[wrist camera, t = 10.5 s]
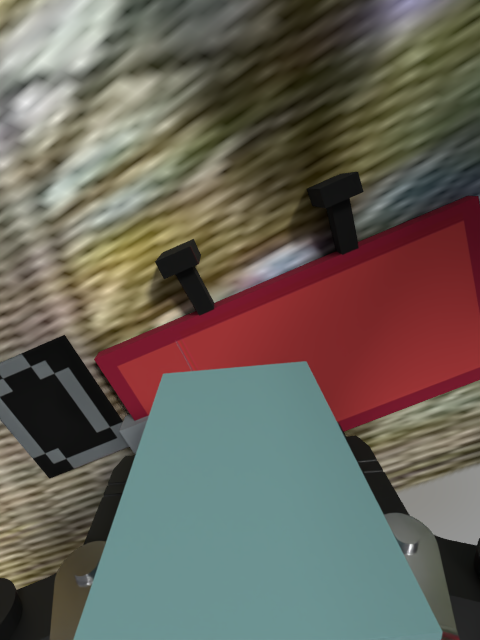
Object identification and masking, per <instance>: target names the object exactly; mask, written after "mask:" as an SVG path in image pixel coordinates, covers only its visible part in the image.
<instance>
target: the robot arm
mask: <svg viewBox="0 0 480 640" xmlns="http://www.w3.org/2000/svg"><path fill="white" fill-rule="evenodd" d="M337 423H338V425H339V427H340V429H341V431H342V433H343V435H344V437H345V439H346V441H347V443H348V445H349V447H350V449H351V451H352V453H353V455H354V457H355V459H356V461H357V463H358V465H359V467H360V469H361V471H362V473H363V475H364V477H365V479H366V481H367V483H368V485H369V487H370V489H371V491H372V493H373V495H374V497H375V499H376V501H377V503H378V505H379V507H380V509H381V511H382V512H383V514H384V516H385V518H386V520H387V522H388V524H389V526H390V528H391V530H392V532H393V534H394V536H395V538H396V540H397V542H398V544H399V546H400V548H401V550H402V552H403V554H404V556H405V558H406V560H407V562H408V564H409V566H410V568H411V570H412V572H413V574H414V576H415V578H416V580H417V582H418V584H419V586H420V588H421V590H422V592H423V594H424V596H425V598H426V600H427V602H428V604H429V606H430V608H431V610H432V612H433V614H434V616H435V618H436V620H437V622H438V624H439V626H440V628H441V630H442V632H443V633H442V638H441V640H480V539H479V541H478V544H477V546H476V545H471V544H466V543H461V542H457V541H452V540H447V539H443V538H440V537H438V536H435V535H433V533H432V532H431V531H430V530H429V528H428V527H426V526H425V525H424V524H423V523H422V522H420V521H419V520H417V519H415V518H413V517H411V516H410V515H409V514H408V512H407V510H406V509H405V507H404V505H403V503H402V502H401V500H400V498H399V497H398V495H397V493H396V491H395V490H394V488H393V486H392V485H391V483H390V481H389V479H388V478H387V476H386V474H385V473H384V472H383V469H382V467H381V466H380V464H379V462H378V461H377V459H376V457H375V455H374V454H373V452H372V450H371V449H370V447H369V446H368V445H367V444H366V443H365V442H363V441H362V440H361V439H360V438H358V437H357V436H350V437H346V435H345V434H344V432H343V430H342V428H341V426H340V424H339V422H337ZM139 444H140V443H139ZM138 447H139V446H138ZM137 450H138V449H137ZM134 458H135V456H125V457H124V458H123V459H122V461H121V462H120V463H119V464H118V465H117V466H116V467H115V468H114V470H113V472H112V475H111V477H110V480H109V482H108V486H107V487H106V490H105V492H104V497H103V498H102V500H101V502H100V505H99V507H98V510H97V512H96V515H95V517H94V520H93V522H92V525H91V527H90V530H89V532H88V535H87V537H86V540H85V542H84V545H83V546H81V547H79V548H78V549H76V550H75V551H73V552H72V553H71V554H70V555H69V556H68V557H67V558H66V559H65V560H64V561H63V563H62V564H61V566H60V568H59V569H58V571H57V573H55V574H54V575H52V576H50V577H48V578H45V579H43V580H40V581H38V582H35V583H33V584H30V585H28V586H25V587H23V588H20V589H18V590H16V588H15V586H14V584H13V583H12V582H11V581H10V580H8V579H5V578H0V640H73V639H74V636H75V633H76V630H77V627H78V624H79V621H80V618H81V615H82V612H83V609H84V607H85V604H86V601H87V598H88V595H89V592H90V589H91V586H92V583H93V580H94V577H95V574H96V571H97V568H98V565H99V562H100V559H101V556H102V553H103V550H104V547H105V544H106V541H107V538H108V535H109V532H110V530H111V527H112V524H113V521H114V518H115V515H116V512H117V509H118V506H119V503H120V500H121V497H122V494H123V491H124V488H125V485H126V482H127V479H128V476H129V473H130V470H131V467H132V464H133V461H134Z"/></svg>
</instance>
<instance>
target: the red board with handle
mask: <svg viewBox="0 0 480 640" xmlns="http://www.w3.org/2000/svg"><path fill="white" fill-rule="evenodd" d="M307 191H308V194H309V197H310V200H311V203H312V206H315V207H321V208H326V210H327V214H328V218H329V222H330V227H331V231H332V235H333V240H334V244H335V248H336V252H333V253H331V254H329V255H326V256H324V257H322V258H319V259H317V260H314V261H312V262H310V263H307V264H305V265H303V266H300V267H298V268H296V269H293V270H291V271H289V272H286V273H284V274H281V275H279V276H277V277H274V278H272V279H270V280H267V281H265V282H263V283H260V284H258V285H256V286H253V287H251V288H249V289H246V290H244V291H242V292H239V293H237V294H235V295H232V296H230V297H228V298H225V299H223V300H220V301H218V302H216V303H214V302H213V300H212V298H211V296H210V294H209V292H208V290H207V288H206V287H205V285H204V283H203V281H202V279H201V277H200V275H199V273H198V271H197V269H196V268H195V265H198V264H199V261H200V257H201V254H200V252H199V250H198V248H197V245H196V243H195V241H194V239H192V240H190V241H188V242H186V243H183V244H181V245H179V246H177V247H174V248H172V249H170V250H168V251H165V252H163V253H162V254H161V255H160V256H159V258H158V259H157V260H156V261H155V263H156V265H157V266H158V268H159V270H160V272H161V274H162V276H163V278H164V279H166V278H168V277H170V276H172V275H176V276H177V278H178V280H179V282H180V283H181V285H182V287H183V289H184V290H185V292H186V294H187V296H188V297H189V299H190V301H191V303H192V304H193V306H194V308H195V309H196V311H195V312H192V313H190V314H188V315H185V316H183V317H181V318H178V319H176V320H174V321H171V322H169V323H167V324H164V325H162V326H159V327H157V328H155V329H152V330H150V331H148V332H145V333H143V334H141V335H138V336H136V337H134V338H131V339H129V340H127V341H124V342H122V343H120V344H117V345H115V346H113V347H110V348H108V349H106V350H103V351H101V352H99V353H98V355H97V356H96V357H95V359H94V360H95V361H96V363H97V364H98V366H99V367H100V369H101V371H102V372H103V374H104V375H105V377H106V378H107V380H108V381H109V383H110V384H111V386H112V387H113V389H114V390H115V392H116V393H117V395H118V396H119V398H120V399H121V401H122V402H123V404H124V405H125V407H126V409H127V410H128V412H129V413H130V415H127V416H125V418H124V421H122V419H121V418H120V416H119V415H118V413H117V412H116V411H115V409H114V408H113V406H112V405H111V403H110V402H109V400H108V399H107V397H106V396H105V394H104V393H103V391H102V390H101V388H100V387H99V385H98V384H97V382H96V381H95V379H94V378H93V376H92V375H91V373H90V372H89V370H88V369H87V368H86V366H85V365H84V363H83V362H82V360H81V359H80V357H79V356H78V354H77V353H76V351H75V350H74V348H73V347H72V345H71V344H70V342H69V341H68V339H67V338H66V336H65V335H63V336H61V337H59V338H56V339H54V340H52V341H49V342H47V343H45V344H42V345H40V346H38V347H36V348H33V349H31V350H29V351H26V352H24V353H22V354H19V355H17V356H15V357H13V358H10V359H8V360H6V361H3V362H1V363H0V420H1V421H2V422H3V423H4V425H5V426H6V427H7V428H8V429H9V431H10V432H11V433H12V434H13V435H14V437H15V438H16V439H17V440H18V441H19V443H20V444H21V445H22V446H23V447H24V449H25V450H26V451H27V452H28V453H29V455H30V456H31V457H32V458H33V459H34V460H35V462H36V463H37V464H38V465H39V466H40V468H41V469H42V470H43V471H44V472H45V474H46V475H47V476H48V477H49V478H52V477H54V476H57V475H59V474H62V473H65V472H67V471H70V470H72V469H75V468H77V467H80V466H82V465H85V464H87V463H90V462H92V461H95V460H97V459H100V458H102V457H105V456H107V455H110V454H112V453H115V452H117V451H120V450H122V449H125V448H127V447H130V448H131V449H132V451H133V452H134V454H135V453H136V452H137V449H138V446H139V443H140V441H141V438H142V435H143V432H144V429H145V426H146V423H147V420H148V417H149V414H150V411H151V408H152V405H153V402H154V399H155V396H156V393H157V390H158V387H159V384H160V381H161V378H162V375H163V374H166V373H177V372H188V371H200V370H211V369H223V368H234V367H246V366H257V365H269V364H280V363H291V362H303V361H306V362H307V364H308V366H309V368H310V370H311V372H312V373H313V375H314V377H315V379H316V381H317V383H318V385H319V387H320V389H321V391H322V393H323V395H324V397H325V399H326V401H327V403H328V405H329V407H330V409H331V411H332V413H333V415H334V417H335V419H336V421H337V422H339V424H340V426H341V428H342V430H343V432H344V431H346V430H349V429H352V428H354V427H357V426H360V425H362V424H365V423H367V422H370V421H373V420H375V419H378V418H381V417H383V416H386V415H388V414H391V413H394V412H396V411H399V410H402V409H404V408H407V407H409V406H412V405H415V404H417V403H420V402H423V401H425V400H428V399H430V398H433V397H436V396H438V395H441V394H444V393H446V392H449V391H451V390H454V389H457V388H459V387H462V386H465V385H467V384H470V383H472V382H475V381H478V380H480V204H479V197H478V196H466V197H464V198H462V199H459V200H457V201H454V202H452V203H450V204H447V205H445V206H443V207H440V208H438V209H435V210H433V211H431V212H428V213H426V214H424V215H421V216H419V217H416V218H414V219H412V220H409V221H407V222H405V223H402V224H400V225H397V226H395V227H393V228H390V229H388V230H386V231H383V232H381V233H378V234H376V235H374V236H371V237H369V238H367V239H364V240H362V241H359V242H358V241H357V236H356V230H355V225H354V220H353V214H352V209H351V204H350V198H351V197H353V196H355V195H357V194H360V193H362V192H363V189H362V185H361V181H360V177H359V174H358V172H352V173H343V174H339V175H337V176H335V177H332V178H330V179H328V180H325V181H323V182H321V183H319V184H316V185H314V186H312V187H310V188H307Z"/></svg>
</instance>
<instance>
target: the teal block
mask: <svg viewBox="0 0 480 640" xmlns="http://www.w3.org/2000/svg"><path fill="white" fill-rule="evenodd" d="M442 633H443V632H442V630H441V628H440V626H439V624H438V622H437V620H436V618H435V616H434V614H433V612H432V610H431V608H430V606H429V604H428V602H427V600H426V598H425V596H424V594H423V592H422V590H421V588H420V586H419V584H418V582H417V580H416V578H415V576H414V574H413V572H412V570H411V568H410V566H409V564H408V562H407V560H406V558H405V556H404V554H403V552H402V550H401V548H400V546H399V544H398V542H397V540H396V538H395V536H394V534H393V532H392V530H391V528H390V526H389V524H388V522H387V520H386V518H385V516H384V514H383V512H382V511H381V509H380V507H379V505H378V503H377V501H376V499H375V497H374V495H373V493H372V491H371V489H370V487H369V485H368V483H367V481H366V479H365V477H364V475H363V473H362V471H361V469H360V467H359V465H358V463H357V461H356V459H355V457H354V455H353V453H352V451H351V449H350V447H349V445H348V443H347V441H346V439H345V437H344V435H343V433H342V431H341V429H340V427H339V425H338V423H337V421H336V419H335V417H334V415H333V413H332V411H331V409H330V407H329V405H328V403H327V401H326V399H325V397H324V395H323V393H322V391H321V389H320V387H319V385H318V383H317V381H316V379H315V377H314V375H313V373H312V372H311V370H310V368H309V366H308V364H307V362H306V361H303V362H291V363H280V364H269V365H257V366H246V367H234V368H223V369H211V370H200V371H188V372H177V373H166V374H163V375H162V378H161V381H160V384H159V387H158V390H157V393H156V396H155V399H154V402H153V405H152V408H151V411H150V414H149V417H148V420H147V423H146V426H145V429H144V432H143V435H142V438H141V441H140V444H139V447H138V450H137V452H136V455H135V458H134V461H133V464H132V467H131V470H130V473H129V476H128V479H127V482H126V485H125V488H124V491H123V494H122V497H121V500H120V503H119V506H118V509H117V512H116V515H115V518H114V521H113V524H112V527H111V530H110V532H109V535H108V538H107V541H106V544H105V547H104V550H103V553H102V556H101V559H100V562H99V565H98V568H97V571H96V574H95V577H94V580H93V583H92V586H91V589H90V592H89V595H88V598H87V601H86V604H85V607H84V609H83V612H82V615H81V618H80V621H79V624H78V627H77V630H76V633H75V636H74V639H73V640H441V638H442Z"/></svg>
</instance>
